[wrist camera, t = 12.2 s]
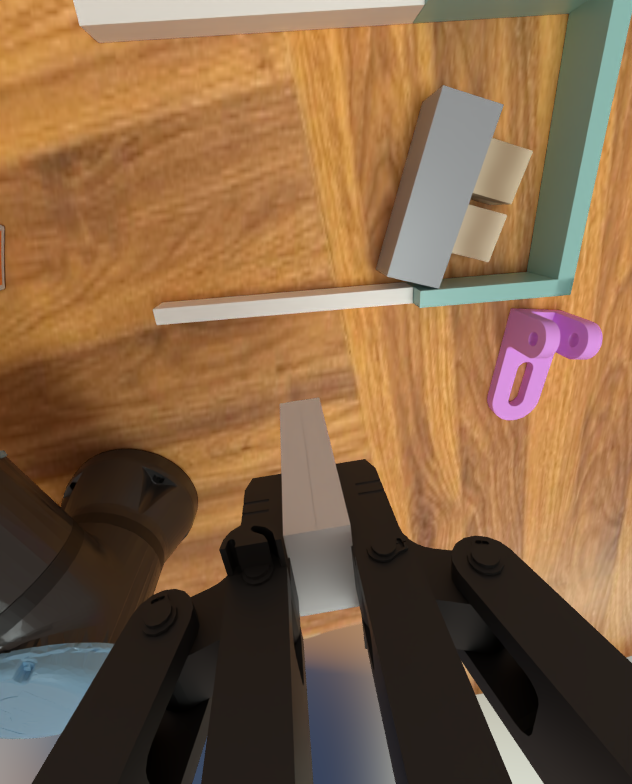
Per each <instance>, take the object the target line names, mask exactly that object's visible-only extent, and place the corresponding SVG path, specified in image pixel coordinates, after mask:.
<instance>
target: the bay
mask: <svg viewBox="0 0 632 784" xmlns="http://www.w3.org/2000/svg"><path fill="white" fill-rule="evenodd" d="M554 14H569V17H568V23H567V30H566V36H565V42H564V48H563V54H562V60H561V66H560V72H559V78H558V84H557V90H556V97H555V103H554V109H553V115H552V121H551V127H550V133H549V139H548V145H547V151H546V158H545V164H544V170H543V176H542V182H541V188H540V194H539V200H538V206H537V212H536V218H535V225H534V231H533V237H532V243H531V249H530V255H529V261H528V267H527V272H518V273H506V274H494V275H482V276H470V277H458V278H446V279H442V282H441V284H440V287H439V288H434V287H430V286H426V285H421V284H417V283H413V282H405V283H407V284H409V285H410V286H412V287H413V303H414V304H415V305H417V306H418V307H419V308H423V307H435V306H446V305H458V304H469V303H481V302H492V301H504V300H515V299H527V298H539V297H550V296H562V295H570V294H571V290H572V285H573V280H574V276H575V271H576V267H577V262H578V257H579V253H580V248H581V244H582V239H583V234H584V230H585V225H586V221H587V216H588V211H589V207H590V202H591V198H592V193H593V188H594V184H595V179H596V175H597V170H598V165H599V161H600V156H601V152H602V147H603V143H604V138H605V133H606V129H607V124H608V120H609V115H610V110H611V106H612V101H613V97H614V92H615V87H616V83H617V78H618V74H619V69H620V64H621V60H622V55H623V51H624V46H625V41H626V37H627V32H628V28H629V23H630V18H631V14H632V0H425V5H424V6H423V8H422V9H421V11H420V12H419V14H418V16H417V17H416V19H415V20H414V22H413V23H426V22H442V21H458V20H474V19H490V18H506V17H522V16H538V15H554Z"/></svg>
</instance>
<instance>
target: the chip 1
mask: <svg viewBox="0 0 632 784" xmlns="http://www.w3.org/2000/svg"><path fill="white" fill-rule="evenodd" d="M532 152H533V151H531V150H528V149H525V148H522V147H519V146H516V145H513V144H509V143H506V142H503V141H500V140H497V139H494V138H492V139H491V142H490V145H489V148H488V151H487V154H486V157H485V159H484V162H483V165H482V168H481V171H480V174H479V176H478V179H477V182H476V185H475V188H474V191H473V193H472V196H471V200H475V201H478V202H482V203H485V204H488V205H500V204H512V202H513V199H514V197H515V194H516V192H517V189H518V187H519V184H520V182H521V179H522V177H523V174H524V172H525V169H526V167H527V165H528V162H529V160H530V157H531V155H532Z"/></svg>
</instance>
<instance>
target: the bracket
mask: <svg viewBox="0 0 632 784" xmlns="http://www.w3.org/2000/svg"><path fill="white" fill-rule="evenodd" d="M601 344H602V332H601V329H600V327H599V326H598V325H597V324H596V323H594V322H592V321H589V320H586V319H584V318H581V317H578V316H575V315H572V314H570V313H567V312H564V311H561V310H544V309H513V308H511V310H510V314H509V317H508V321H507V325H506V329H505V332H504V336H503V340H502V344H501V348H500V351H499V355H498V359H497V363H496V366H495V370H494V374H493V378H492V381H491V385H490V389H489V393H488V397H487V401H488V405H489V407H490V409H491V410H492V411H493V412H494V413H495V414H496V415H497V416H498V417H500V418H502V419H505V420H516V419H519V418H522V417H524V416H526V415H527V414H528V413H530V412H531V411H532V410H533V409H534V408H535V406H536V405H537V403H538V401H539V398H540V395H541V392H542V389H543V386H544V383H545V380H546V377H547V374H548V371H549V368H550V365H551V362H552V358H553V355H554V353H555V352H557V353H559V354H561V355H562V356H564V357H566V358H568V359H590V358H592V357H593V356H594V355H596V353H597V352H598V351H599V349H600V347H601ZM524 362H527V366H526V370H525V373H524V376H523V379H522V383H521V386H520V389H519V393H518V396H517V397H516V398H515V399H514V400H513V401H509V402H508V400H509V396H510V393H511V389H512V386H513V382H514V379H515V376H516V372H517V369H518V367H519V366H520V365H521V364H522V363H524Z"/></svg>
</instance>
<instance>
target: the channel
mask: <svg viewBox="0 0 632 784" xmlns="http://www.w3.org/2000/svg"><path fill="white" fill-rule="evenodd" d="M73 2H74V6H75V9H76V13H77V17H78V21H79V25H80V26H81V27H82V28H83V29H84V30H85V31H86V32H87V33H88V34H89V35H91V36H92V37H93V38H94V39H95V40H96V41H97V42H98V43H106V42H122V41H138V40H154V39H170V38H186V37H202V36H218V35H234V34H250V33H266V32H282V31H298V30H314V29H330V28H346V27H362V26H378V25H394V24H410V23H413V22H414V20H415V19H416V17H417V16H418V14H419V12H420V11H421V9H422V8H423V6H424V5H425V0H73ZM408 303H413V287H412V286H410V285H409V284H407V283H405V282H399V283H387V284H375V285H363V286H351V287H340V288H328V289H316V290H304V291H292V292H280V293H268V294H256V295H245V296H233V297H221V298H209V299H197V300H185V301H173V302H162V303H161V304H159V305H158V306H157V307H155V308H154V309H153V313H154V316H155V320H156V324H157V325H164V324H176V323H187V322H199V321H211V320H222V319H234V318H246V317H257V316H269V315H280V314H292V313H304V312H315V311H327V310H338V309H350V308H362V307H373V306H385V305H397V304H408Z"/></svg>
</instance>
